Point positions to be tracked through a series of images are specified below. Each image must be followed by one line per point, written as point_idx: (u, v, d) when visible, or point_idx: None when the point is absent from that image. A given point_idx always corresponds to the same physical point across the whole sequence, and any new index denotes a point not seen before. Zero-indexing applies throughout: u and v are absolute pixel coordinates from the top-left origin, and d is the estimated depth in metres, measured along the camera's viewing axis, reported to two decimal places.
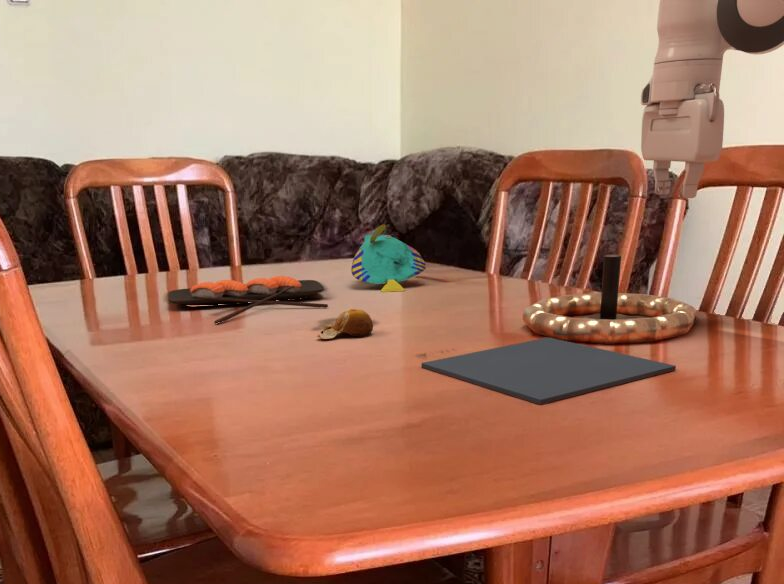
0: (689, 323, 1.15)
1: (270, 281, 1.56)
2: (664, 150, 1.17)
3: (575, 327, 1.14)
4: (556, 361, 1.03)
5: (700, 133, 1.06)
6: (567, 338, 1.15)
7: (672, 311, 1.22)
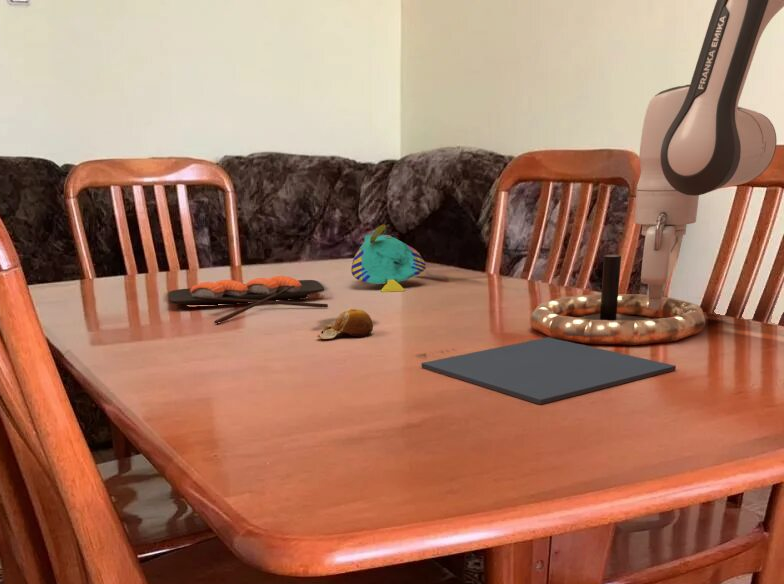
0: (703, 322, 1.15)
1: (270, 281, 1.56)
2: None
3: (598, 329, 1.12)
4: (556, 361, 1.03)
5: (644, 260, 1.17)
6: (589, 341, 1.13)
7: (677, 310, 1.22)
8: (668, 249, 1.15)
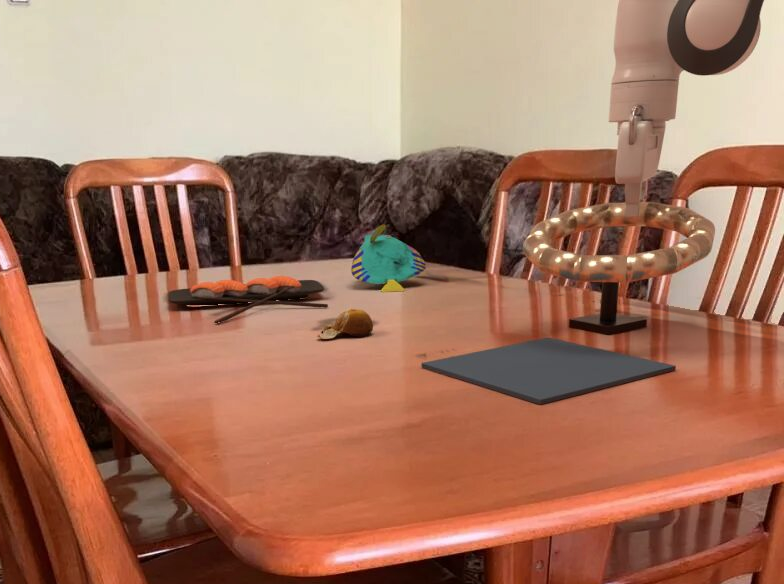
0: None
1: (270, 281, 1.56)
2: None
3: (640, 266, 1.01)
4: (556, 361, 1.03)
5: (618, 156, 1.08)
6: (630, 280, 1.02)
7: (668, 218, 1.14)
8: (644, 142, 1.06)
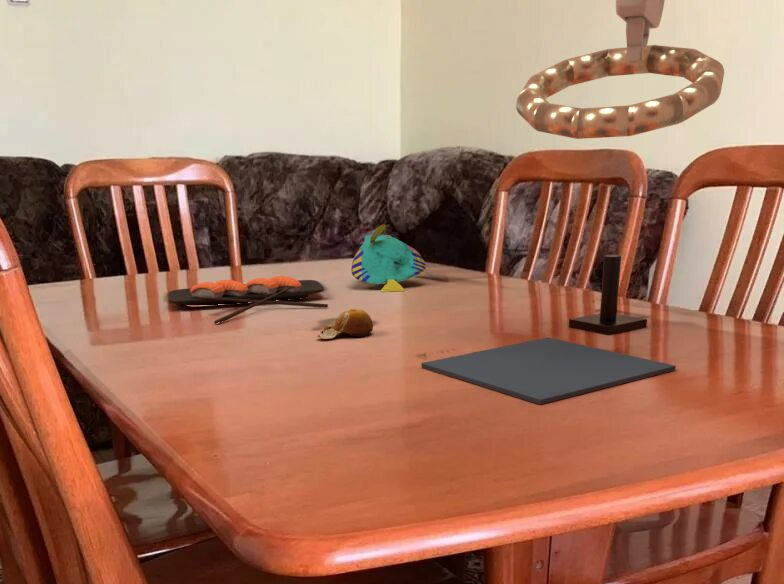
0: None
1: (270, 281, 1.56)
2: None
3: (643, 116, 0.94)
4: (556, 361, 1.03)
5: None
6: (633, 133, 0.95)
7: (673, 61, 1.05)
8: None
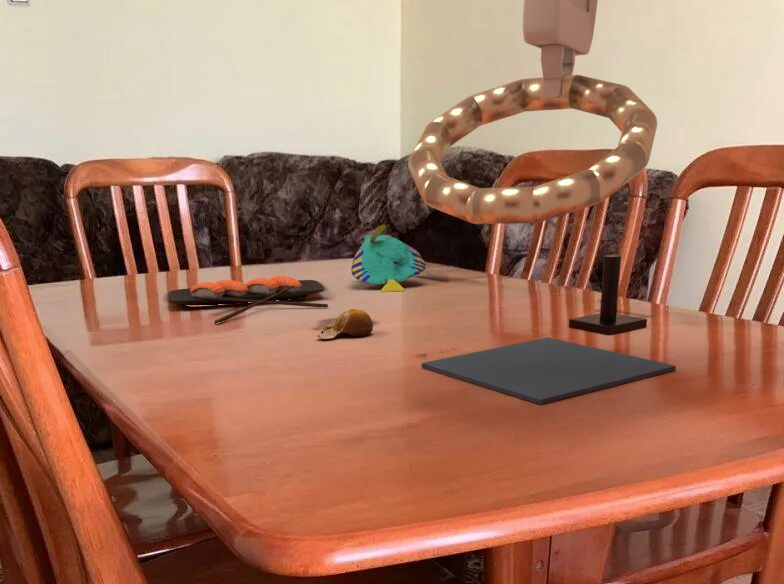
0: (656, 121, 0.82)
1: (270, 281, 1.56)
2: None
3: (551, 203, 0.76)
4: (556, 361, 1.03)
5: (526, 1, 0.79)
6: (540, 221, 0.78)
7: (598, 101, 0.86)
8: None
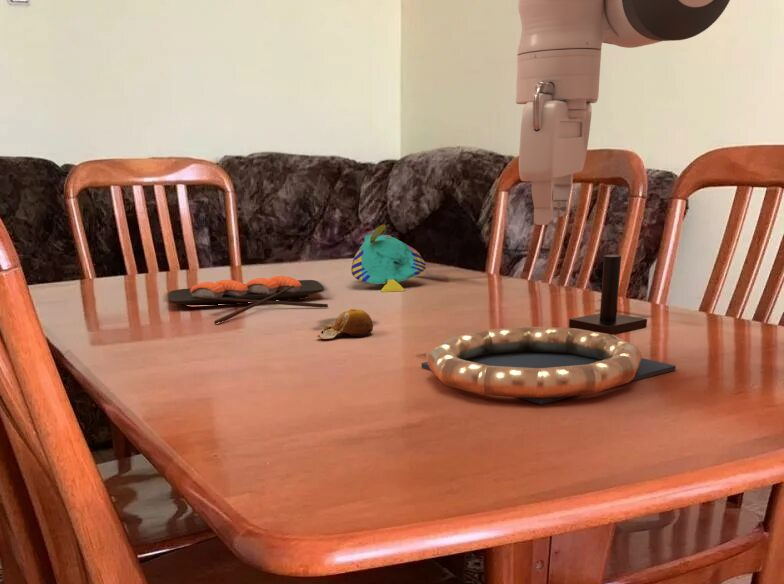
0: None
1: (270, 281, 1.56)
2: None
3: (553, 380, 0.87)
4: (556, 361, 1.03)
5: (521, 146, 0.84)
6: (542, 396, 0.88)
7: (591, 343, 1.02)
8: (552, 128, 0.83)
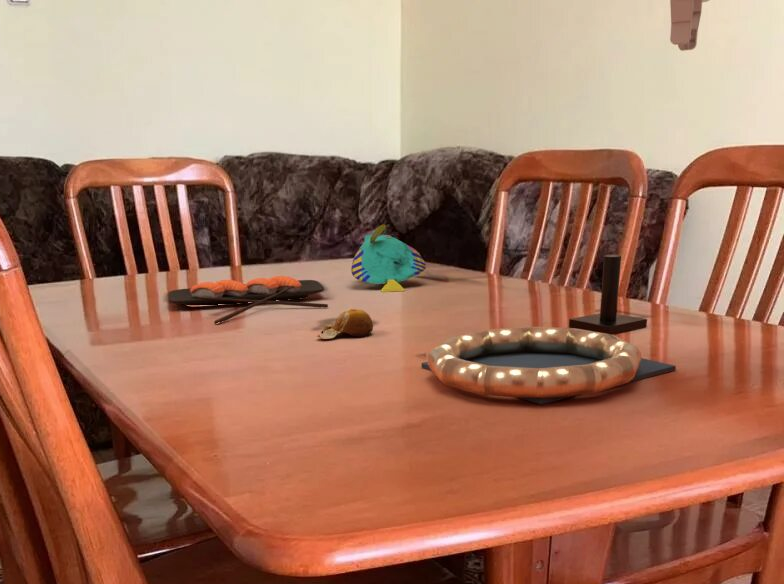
0: None
1: (270, 281, 1.56)
2: None
3: (553, 380, 0.87)
4: (556, 361, 1.03)
5: None
6: (542, 396, 0.88)
7: (591, 343, 1.02)
8: None
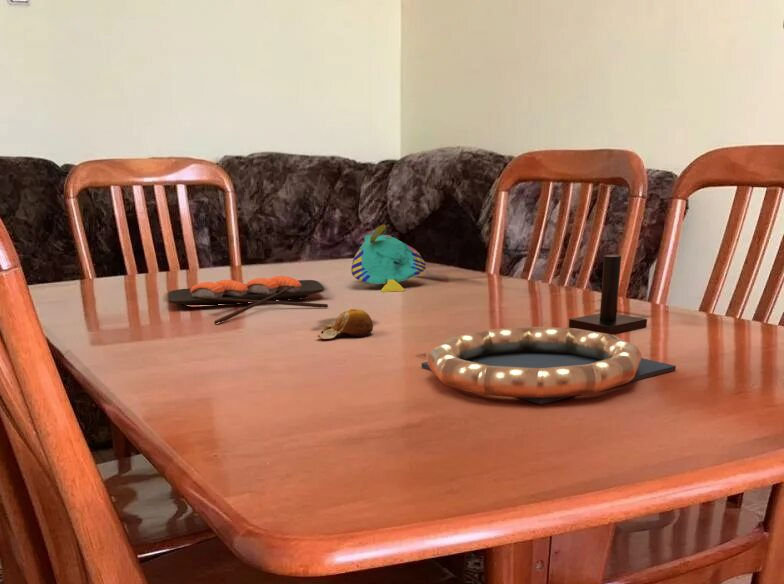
0: None
1: (270, 281, 1.56)
2: None
3: (553, 380, 0.87)
4: (556, 361, 1.03)
5: None
6: (542, 396, 0.88)
7: (591, 343, 1.02)
8: None
